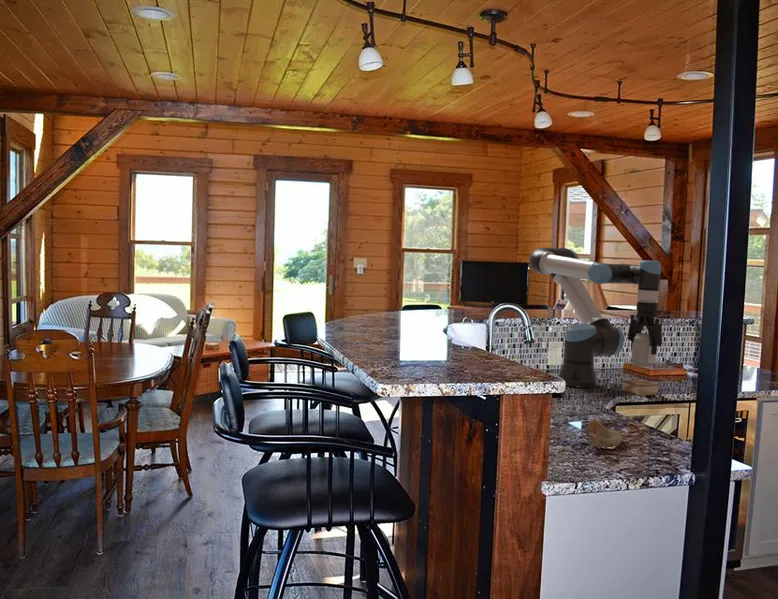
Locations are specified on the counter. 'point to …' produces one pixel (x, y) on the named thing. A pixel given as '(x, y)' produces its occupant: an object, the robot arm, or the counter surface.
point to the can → (641, 350)
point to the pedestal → (640, 387)
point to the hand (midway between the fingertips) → (642, 360)
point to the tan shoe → (603, 435)
